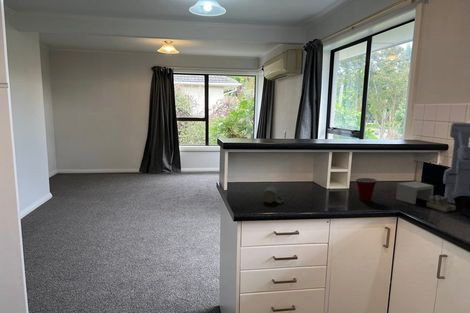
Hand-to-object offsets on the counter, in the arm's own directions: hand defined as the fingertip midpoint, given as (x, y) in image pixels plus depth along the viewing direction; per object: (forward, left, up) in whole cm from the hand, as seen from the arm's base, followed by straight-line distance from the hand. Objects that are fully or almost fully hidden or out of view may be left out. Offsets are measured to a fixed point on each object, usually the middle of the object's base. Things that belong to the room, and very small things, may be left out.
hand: (459, 210), depth 157 cm
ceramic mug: (+76, -51, -2) cm, 91 cm away
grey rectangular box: (0, -24, -1) cm, 24 cm away
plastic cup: (+27, -34, -2) cm, 44 cm away
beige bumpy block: (0, -9, -2) cm, 9 cm away
